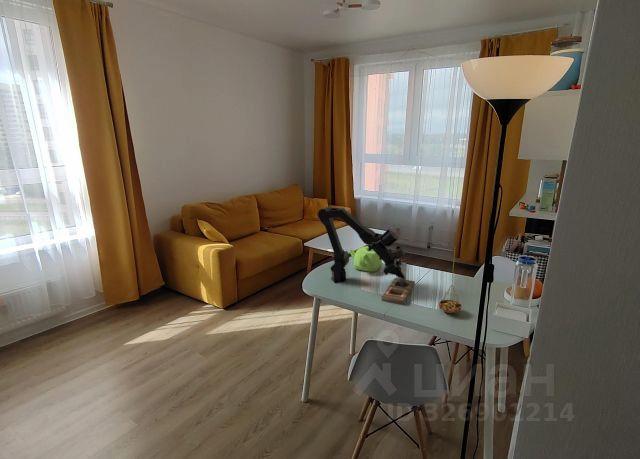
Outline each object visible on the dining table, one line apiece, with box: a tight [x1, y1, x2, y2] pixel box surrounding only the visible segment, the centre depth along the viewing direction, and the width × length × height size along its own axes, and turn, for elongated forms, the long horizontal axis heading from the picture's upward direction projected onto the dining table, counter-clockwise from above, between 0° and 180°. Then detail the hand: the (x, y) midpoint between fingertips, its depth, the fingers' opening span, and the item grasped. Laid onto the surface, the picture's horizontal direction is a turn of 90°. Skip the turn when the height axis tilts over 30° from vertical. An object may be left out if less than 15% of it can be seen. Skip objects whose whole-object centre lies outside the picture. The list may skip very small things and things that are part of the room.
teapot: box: [348, 245, 383, 273], centre depth 194 cm, size 18×20×13 cm
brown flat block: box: [381, 277, 416, 306], centre depth 163 cm, size 22×10×3 cm, turn 153°
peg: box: [397, 261, 408, 288], centre depth 166 cm, size 4×4×13 cm
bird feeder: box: [438, 247, 462, 314], centre depth 141 cm, size 9×9×30 cm
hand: (404, 276), depth 165 cm, fingers closed on peg, 4 cm apart
